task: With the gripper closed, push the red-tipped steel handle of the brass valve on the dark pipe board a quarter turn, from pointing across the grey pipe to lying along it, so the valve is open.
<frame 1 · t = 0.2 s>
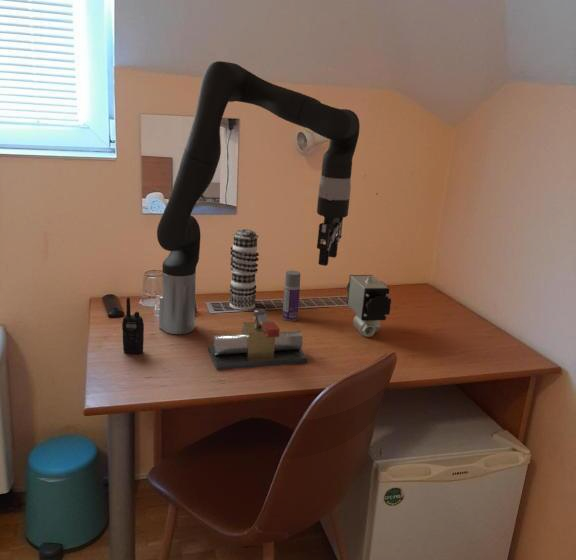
hand: (327, 260, 145), 28 cm above the table, tool pointing down, fingers open, 8 cm apart
two-way radio: (134, 351, 154), on the table
container: (289, 319, 184), on the table
valve lever: (265, 322, 147), point 12 cm above the table, hinge at 0.0°
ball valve: (365, 333, 177), on the table
valve board: (257, 356, 155), on the table
black and white cylinder: (242, 306, 193), on the table
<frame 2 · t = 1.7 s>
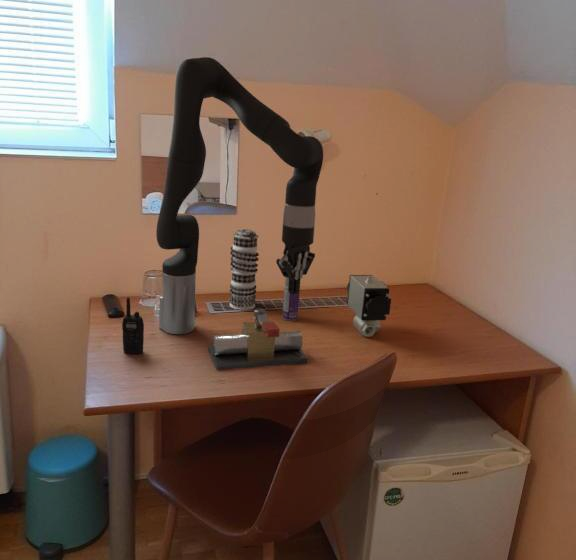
hand: (293, 293, 143), 20 cm above the table, tool pointing down, fingers closed
nothing on the table moved.
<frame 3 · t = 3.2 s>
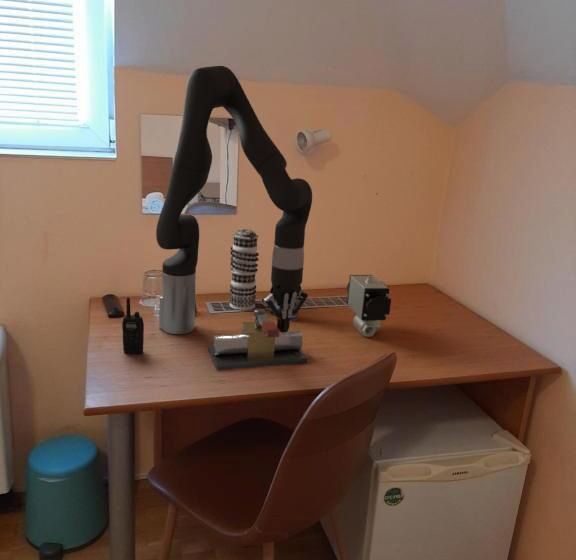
hand: (282, 331, 145), 11 cm above the table, tool pointing down, fingers closed
valve lever: (265, 322, 147), point 12 cm above the table, hinge at 0.0°, touching gripper
everything else where it was.
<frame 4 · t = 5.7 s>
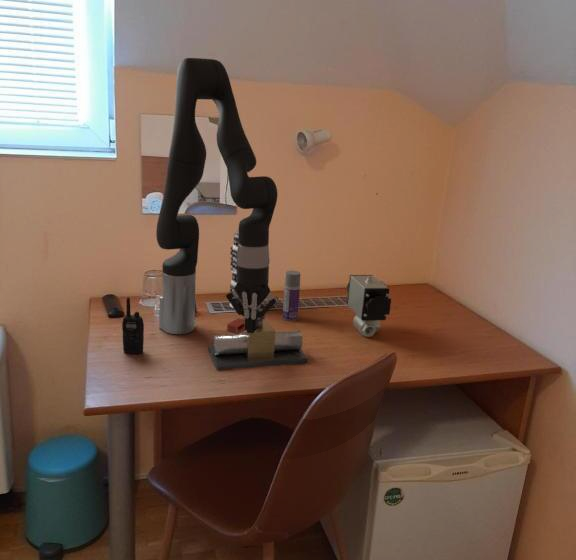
hand: (251, 332, 142), 11 cm above the table, tool pointing down, fingers closed
valve lever: (248, 320, 147), point 12 cm above the table, hinge at 44.8°, touching gripper
everything else where it was.
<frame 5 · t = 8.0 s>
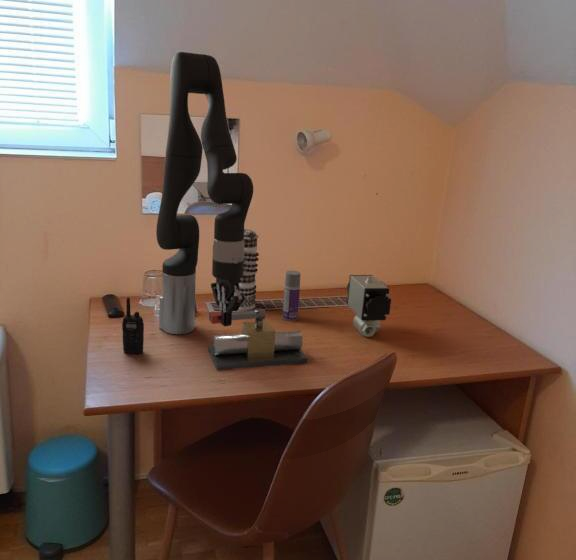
hand: (226, 325, 145), 11 cm above the table, tool pointing down, fingers closed
valve lever: (238, 315, 150), point 12 cm above the table, hinge at 85.4°
everything else where it was.
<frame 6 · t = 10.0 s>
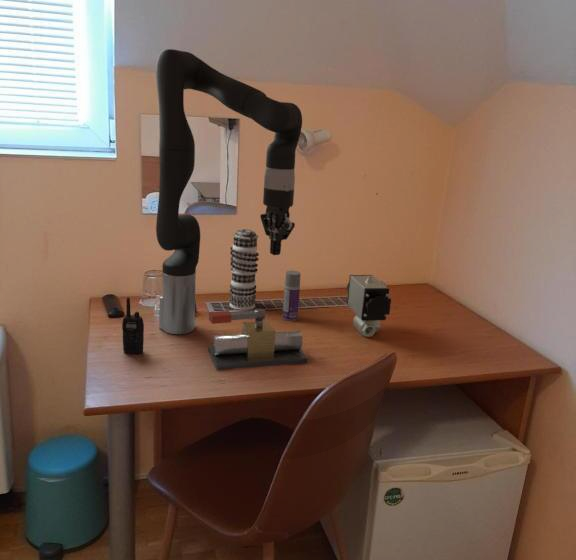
hand: (275, 254, 150), 28 cm above the table, tool pointing down, fingers closed
nothing on the table moved.
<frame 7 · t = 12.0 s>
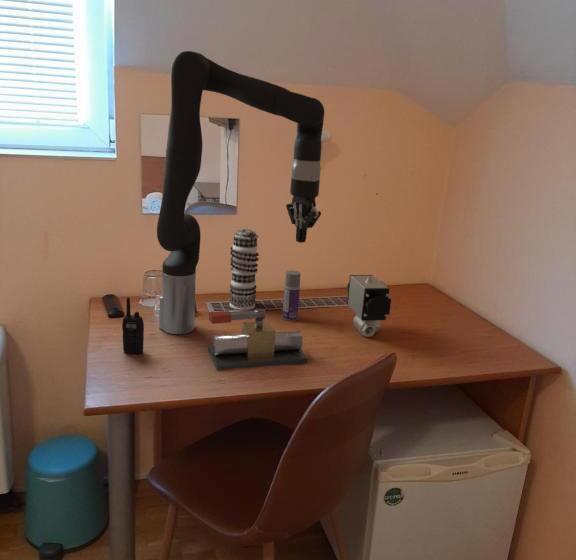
hand: (300, 241, 159), 29 cm above the table, tool pointing down, fingers closed
nothing on the table moved.
at the end: valve lever at +86° (first picture: +0°); two-way radio moved 0.2 cm from its start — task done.
